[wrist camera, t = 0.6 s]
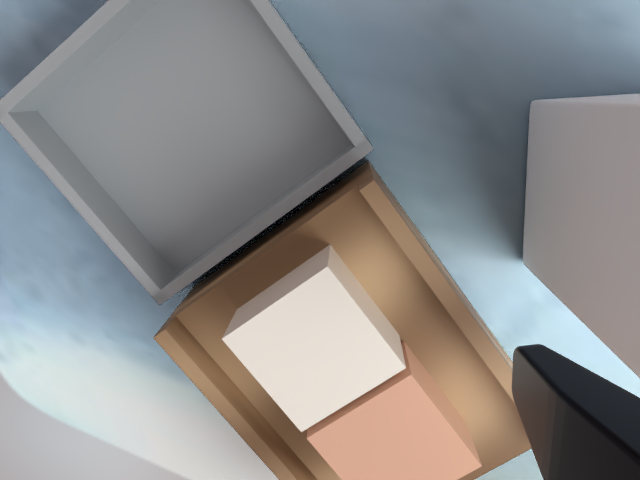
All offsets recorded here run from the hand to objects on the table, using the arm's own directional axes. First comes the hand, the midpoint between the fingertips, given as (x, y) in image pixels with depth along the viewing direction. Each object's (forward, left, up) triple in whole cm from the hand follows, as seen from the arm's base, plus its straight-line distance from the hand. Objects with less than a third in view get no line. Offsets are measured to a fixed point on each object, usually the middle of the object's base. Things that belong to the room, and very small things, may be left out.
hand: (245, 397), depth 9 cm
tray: (+3, +5, -15) cm, 16 cm away
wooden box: (-6, -3, -15) cm, 16 cm away
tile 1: (-4, -1, -11) cm, 12 cm away
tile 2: (-7, -5, -11) cm, 14 cm away
